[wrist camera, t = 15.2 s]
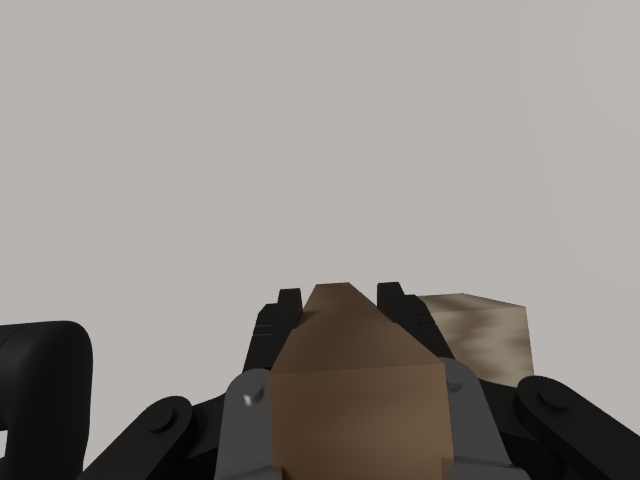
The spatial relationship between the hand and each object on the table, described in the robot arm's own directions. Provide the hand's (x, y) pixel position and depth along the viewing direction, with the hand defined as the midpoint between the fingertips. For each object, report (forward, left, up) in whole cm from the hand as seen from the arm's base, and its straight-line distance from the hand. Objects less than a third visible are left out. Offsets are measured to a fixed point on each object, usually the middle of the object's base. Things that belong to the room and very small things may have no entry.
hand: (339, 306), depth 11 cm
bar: (0, +5, -3) cm, 6 cm away
